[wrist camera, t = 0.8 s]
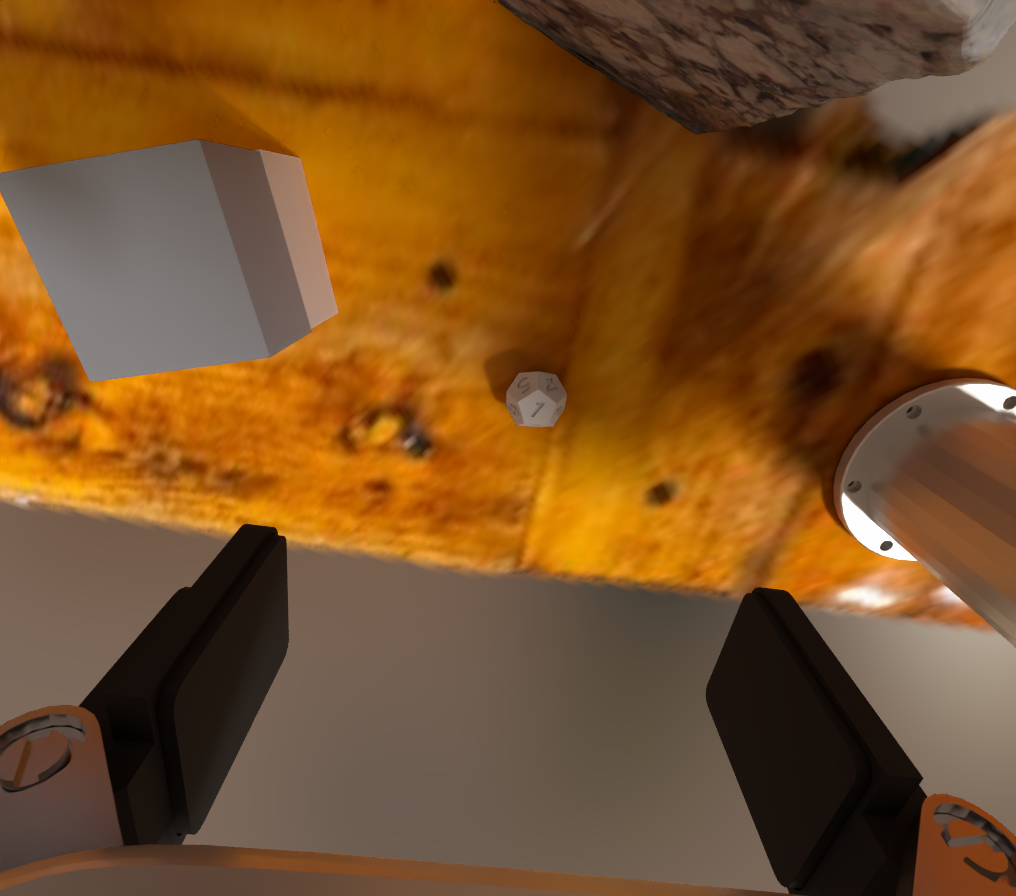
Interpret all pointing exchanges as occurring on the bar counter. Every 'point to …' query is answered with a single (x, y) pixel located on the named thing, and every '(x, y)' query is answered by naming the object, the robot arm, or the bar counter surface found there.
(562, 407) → the game die
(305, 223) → the lower block
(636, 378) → the bar counter surface
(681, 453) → the bar counter surface
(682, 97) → the stone block
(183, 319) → the upper block
